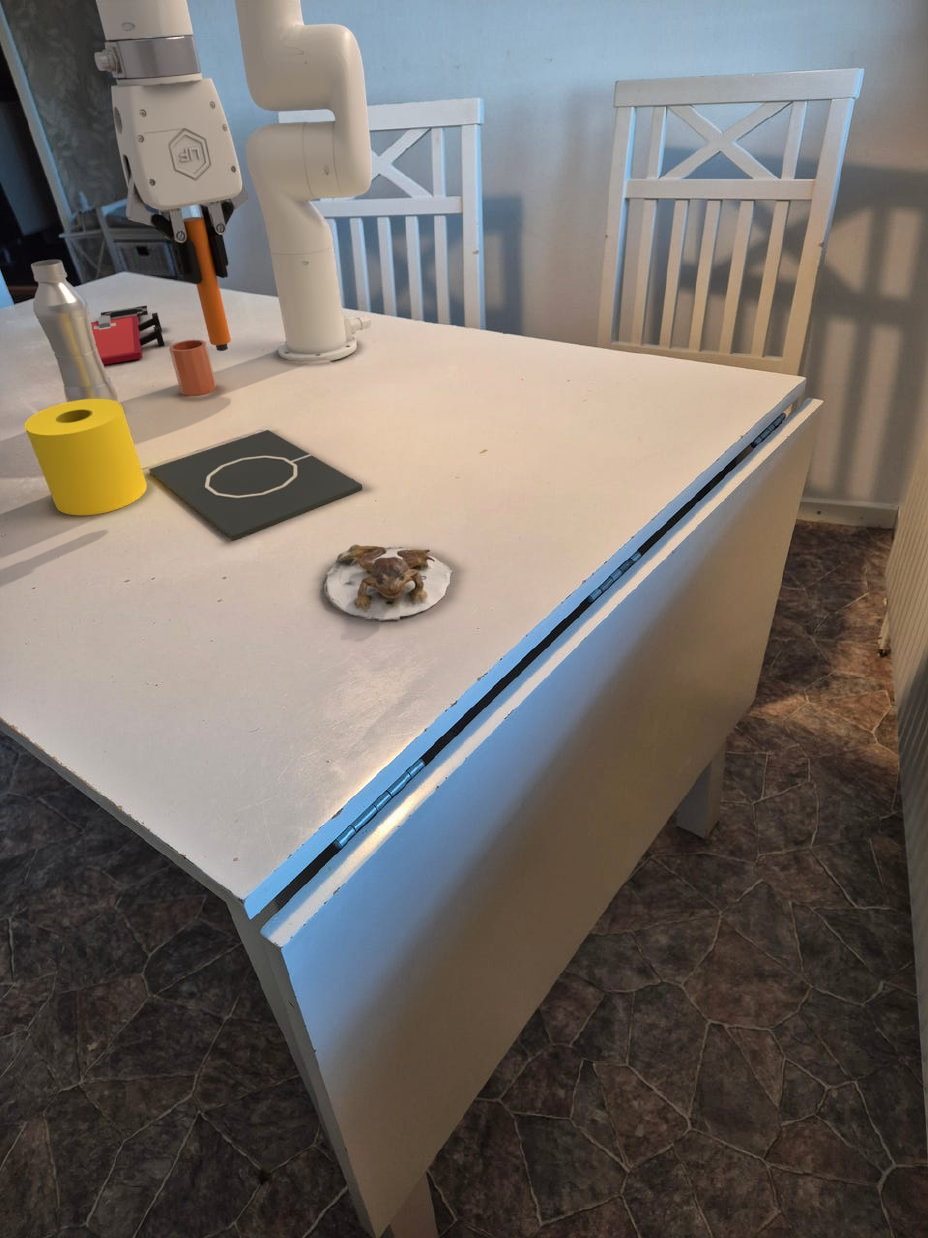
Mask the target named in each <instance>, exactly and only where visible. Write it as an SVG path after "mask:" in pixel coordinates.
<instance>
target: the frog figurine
mask: <svg viewBox="0 0 928 1238" xmlns="http://www.w3.org/2000/svg"><path fill="white" fill-rule="evenodd" d="M430 552H431V550H430V549H421V548H420V549H410V548H404V547H401V546H399V547H383V546H378V545H359V544H357V543H355V544H353V545H351V546H350V547H349V548H348V549H347V550H345V551H343V552H341V553H339V554H338V556H337V558H336V560H335V563H334V564H333V565H332V566H331V568H330V569H329V570H328V572H327V573H325V576H326V580H325V582H324V584H323V592H324V594H325V595H324V596H325V597H326V599H327V600H328V602H329V603H330V604H331V605H332V606H333V607H334V608H335V609H337V610H339V611H341V612H343V613H346V614H348V615H351V616H353V617H354V616H355V617H358V618H364V619H366V620H368V619H370V620H372V619H373V620H377V621H378V622H384V621H399V620H401V618H402V617H408V616H413V615H416V614H418V613H422V612H425V611H426V610H429V609H430V608H431V607H434V606H435V605H436V604H437V603H438V602H439V601H440V600H441V599H443V598H444V597H445V594H446V592H447V591H446V590H447V588H448V586H449V585H450V584H451V577H452V574H453V570H452V569H451V568H450V567H449V566H448V565H446V564H445V563H443V562H441V561H439V560H438V559H437V558H436V557H435V556H431V555H429V554H428V553H430Z"/></svg>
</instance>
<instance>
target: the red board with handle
mask: <svg viewBox="0 0 928 1238" xmlns="http://www.w3.org/2000/svg"><path fill="white" fill-rule="evenodd" d="M148 315H149V313H148V305H142V306H141V305H139V306H135V307H128V308H122V309H121V308H120V309H116V310H115V309H114V310H110V311H103V312H100V316H98V321H97V320H96V321H91V325H92V331H93V335H94V338H95V342H96V346H97V349H98V353H99V356H100V358H101V360H102V363H103V365H104V366H105V365H110V364H115V363H116V364H117V363H122V362H128V361H133V360H134V361H135V360H139V359H143V353H142V347H143V346H144V345H147V344H149V343H151V342H153V341H155V340H156V341H157V342H156V343H157V345H158V347H159V348H161V347H165V346H166V345H165V341H164V338H163V334H162V332H163V328H162V325H161V322H160V317H159V314H158V312H153V313H151V318H150V319H148V320H145V321H143V322H141V323H140V321H139V317H144V316H148ZM151 327H153V332H151V333H148V334H146V335H144V336H142V337H141V332H143V331H145V330H148V329H149V328H151Z"/></svg>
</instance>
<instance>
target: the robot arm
mask: <svg viewBox="0 0 928 1238" xmlns="http://www.w3.org/2000/svg"><path fill="white" fill-rule="evenodd" d="M301 3H302V2H301V0H234V5H235V11H236V18H237V25H238V32H239V40H240V46H241V53H242V59H243V66H244V73H245V79H246V84H247V87H248V91H249V94H250V97H251V99H252V101H253V102H254V104H256V105H257V106H258V107H259V108H260V109H262V110H264V111H269V112H299V111H302V112H303V111H319V110H327V111H328V110H329V111H330V112H332V114H333V116H334V120H324V121H323V120H321V121H293V122H277V123H271V124H266V125H263V126H261V127H259V128H257V129H255V130H254V131H252V133H251V134H250V135H249V137H248V139H247V142H246V145H245V158H246V164H247V169H248V172H249V176H250V178H251V181H252V184H253V187H254V190H255V193H256V196H257V198H258V202H259V206H260V210H261V214H262V218H263V222H264V226H265V227H264V228H265V231H266V237H267V242H268V247H269V253H270V254H269V255H270V259H271V264H272V270H273V276H274V282H275V288H276V292H277V298H278V303H279V309H280V313H281V319H282V325H283V332H284V336H285V341H283V342H282V343H280V344H279V346H278V347H277V352H278V355H279V356H280V357H281V358H282V359H285V360H289V361H294V362H319V361H326V360H327V361H328V362H332V361H336V360H340V359H343V358H346V357H348V356H350V355H351V354H353V353H354V352H356V350H357V348H358V344H357V343H358V342H357V339H356V338H355V337H354V336H353V335H356V332H357V331H362V330H367V329H369V328H371V327H372V322H371V318H370V317H369V316H368V315H365V316H360V317H357V318H355V316H353V315H351V316H348V317H346V316H344V312H343V306H342V305H343V303H342V298H341V297H342V296H341V291H340V290H341V289H340V282H339V276H338V269H337V262H336V254H335V247H334V239H333V233H332V230H331V227H330V225H329V223H328V221H327V220H326V218H325V217H324V216H323V214H322V213H321V212H320V211H319V210H318V209H317V207H316V206H315V205H314V204H313V203H312V201H313V200H319V199H340V198H353V197H354V198H355V197H359V196H363V195H364V194H366V193H367V192H368V191H369V189H370V188H371V185H372V181H373V156H372V143H371V135H370V123H369V112H368V111H369V110H368V101H367V100H368V99H367V89H366V80H365V78H366V77H365V71H364V70H365V69H364V64H363V58H362V54H361V50H360V46H359V43H358V40H357V38H356V37H355V34H354V33H353V32H352V31H351V30H350V29H349V28H348V27H346V26H344V25H342V24H337V23H319V24H318V23H317V24H305V23H304V19H303V12H302V4H301ZM95 4H96V7H97V10H98V14H99V18H100V19H99V20H100V23H101V26H102V30H103V34H104V38H105V40H106V42H104V47H105V49H103V50H102V51H97V52H96V51H95V52H94V62H95V65H96V67H97V69H98V71H100V72H102V71H107V72H109V73H111V74H112V78H114V79H115V80H116V84H117V85H111V87H110V88H111V103H112V104H111V105H112V112H113V121H114V129H115V134H116V135H115V137H116V142H117V146H118V151H119V157H120V162H121V167H122V170H123V176H124V179H125V183H126V187H127V198H126V207H125V217H126V218H127V219H128V220H129V221H132V222H136V223H140V224H143V225H146V226H150V227H152V228H153V229H155V230H156V231H158V232H159V233H160V234H161V235H163V236H164V237H165V238H166V239H168V240H169V241H170V244H171V249H172V252H173V257H174V260H175V264H176V268H177V272H178V273H179V275H181V276H182V277H183V279H184V280H185V281H186V282H189V283H191V284H194V285H196V284H199V283H201V282H202V276H201V272H200V267H199V263H198V259H197V254H196V250H195V246H194V243H193V242H192V241H189V240H188V236H187V234H186V230H185V226H184V221H183V219H184V217H183V212H182V208H187V207H192V206H198V210H199V214H200V215H199V216H200V217H202V218H204V222H205V226H206V231H207V235H208V240H209V244H210V249H211V253H212V258H213V262H214V267H215V271H216V276H217V278H221V279H225V278H228V276H229V274H228V273H229V272H228V269H227V266H229V259H228V254H227V250H226V245H225V244H226V243H225V240H224V236H223V235H225V233H226V231H227V224H228V223H229V221H230V219H231V217H232V216H233V214H234V211H236V210H238V209H239V208H240V207H241V206H242V205H244V204H245V203H246V202H247V201H248V200H249V194H248V192H247V190H246V188H245V187H244V185H243V180H242V173H241V168H240V164H239V160H238V156H237V152H236V148H235V144H234V141H233V137H232V133H231V130H230V126H229V123H228V120H227V117H226V114H225V110H224V107H223V105H222V102H221V100H220V96H219V94H218V91H217V89H216V86H215V83H214V81H213V78H212V77H203V74H202V69H201V63H200V58H199V54H198V50H197V45H196V39H195V36H194V29H193V26H192V20H191V15H190V10H189V6H188V1H187V0H95ZM146 206H149V207H150V208H152V209H154V210H155V209H156V210H157V211H158V213H156V212H152V211H149V210H148V209H147V208H146Z"/></svg>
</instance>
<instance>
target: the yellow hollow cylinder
mask: <svg viewBox="0 0 928 1238" xmlns="http://www.w3.org/2000/svg"><path fill="white" fill-rule="evenodd" d="M24 429H25V431H26V434H27V437H28V439H29V441H30V444H31V447H32V450H33V453H34V454H35V457H36V460H37V462H38V465H39V467H40V469H41V473H42V474H43V478H44V479H45V482H46V485H47V487H48V490H49V492H50V495H51V497H52V500H53V503H54V505H55V507H56V509H57V510H58V511H59V512H61V513H63V514H66V515H69V516H70V515H71V516H81V517H82V516H94V515H100V514H101V515H102V514H106V513H109V512H113V511H116V510H119V509H122V508H124V507H126V506H129V505H130V504H132V503H134V502H136V501H137V500H138V499H140V498H141V497H142V496H143V495H144V494H145V493H146V491H147V487H148V485H147V481H146V478H145V475H144V471H143V468H142V465H141V462H140V459H139V456H138V453H137V450H136V447H135V443H134V440H133V437H132V433H131V431H130V427H129V424H128V421H127V417H126V414H125V412H124V408H123V405H122V404H121V403H120V402H119V401H118V402H116V401H113V400H108V399H84V400H77V401H71V402H62V403H59V404H55V405H52V406H49V407H46V408H45V409H42V410H40V411H38V412H36V413H34V414H33V415H31V416H30V417H29V418H28V419H26V420H25V423H24Z"/></svg>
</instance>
